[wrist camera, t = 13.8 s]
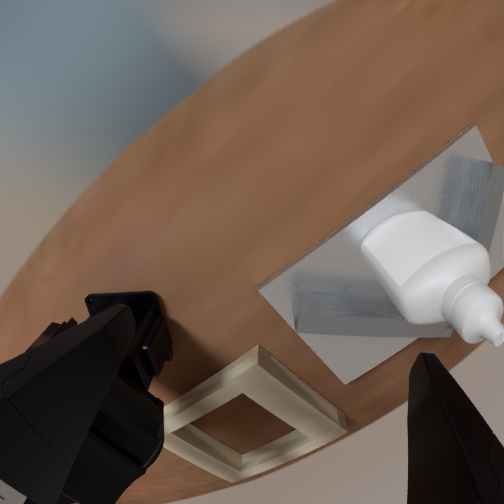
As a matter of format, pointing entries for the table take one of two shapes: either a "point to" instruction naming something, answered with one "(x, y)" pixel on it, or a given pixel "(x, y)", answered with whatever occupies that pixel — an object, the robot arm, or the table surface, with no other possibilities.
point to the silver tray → (359, 275)
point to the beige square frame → (266, 395)
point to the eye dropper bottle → (435, 275)
